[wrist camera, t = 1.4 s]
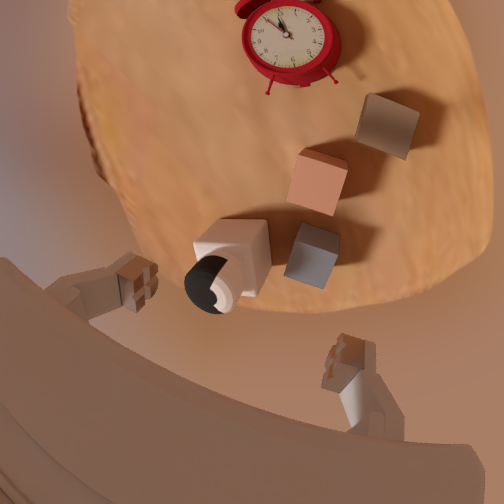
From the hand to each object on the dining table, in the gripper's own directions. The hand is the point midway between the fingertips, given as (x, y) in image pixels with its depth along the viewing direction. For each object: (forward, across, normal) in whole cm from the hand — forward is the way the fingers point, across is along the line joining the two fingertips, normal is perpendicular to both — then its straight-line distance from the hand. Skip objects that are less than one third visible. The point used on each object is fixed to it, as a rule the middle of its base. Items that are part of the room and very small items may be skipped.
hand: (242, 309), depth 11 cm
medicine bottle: (+24, +6, +11) cm, 27 cm away
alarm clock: (+23, +6, -17) cm, 29 cm away
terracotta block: (+23, -1, -1) cm, 23 cm away
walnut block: (+23, -6, -9) cm, 25 cm away
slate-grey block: (+24, -3, +8) cm, 25 cm away
